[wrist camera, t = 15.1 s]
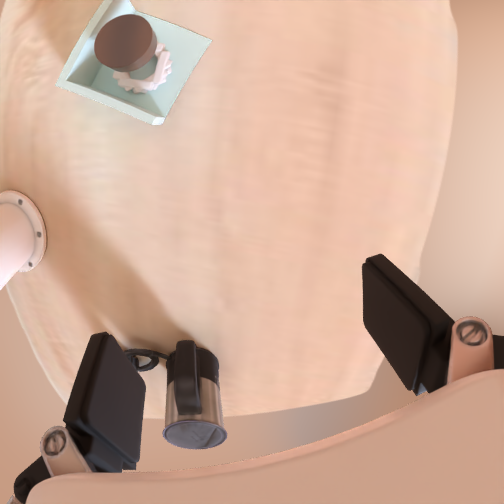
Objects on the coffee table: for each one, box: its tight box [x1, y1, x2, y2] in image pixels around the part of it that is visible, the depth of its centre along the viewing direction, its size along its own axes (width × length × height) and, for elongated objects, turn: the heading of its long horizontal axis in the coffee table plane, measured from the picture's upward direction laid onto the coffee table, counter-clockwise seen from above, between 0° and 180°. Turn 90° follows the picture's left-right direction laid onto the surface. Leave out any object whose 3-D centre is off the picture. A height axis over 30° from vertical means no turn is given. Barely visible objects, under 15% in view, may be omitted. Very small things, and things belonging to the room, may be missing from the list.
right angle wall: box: [55, 0, 212, 125], centre depth 24 cm, size 12×12×8 cm
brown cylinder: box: [94, 14, 157, 72], centre depth 20 cm, size 5×5×3 cm
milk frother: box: [123, 340, 227, 449], centre depth 40 cm, size 14×16×15 cm
